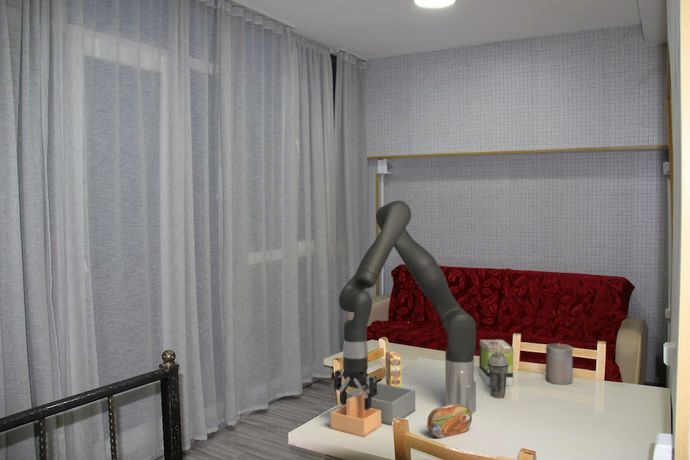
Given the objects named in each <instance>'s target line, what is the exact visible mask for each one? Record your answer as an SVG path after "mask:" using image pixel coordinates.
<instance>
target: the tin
mask: <svg viewBox="0 0 690 460" xmlns="http://www.w3.org/2000/svg"><path fill="white" fill-rule="evenodd" d="M472 418H473V417H472V414H471V411H470V409H469V408H468V407H467V406H465V405H461V404H453V405H449V406H441V407H437V408H434V409H432V410H431V411H430V412H429V414H428V417H427V421H426V422H427V423H426V424H427V425H426V426H427V430H428V431H429V433H430V434H431V435H433V436H434V437H436V438H439V439H444V438H447V437H453V436H456V435H460V434H463V433H466V432H467V431H468V430H469V428H470V427H471V424H472V420H473V419H472Z"/></svg>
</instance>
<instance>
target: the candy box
mask: <svg viewBox="0 0 690 460" xmlns="http://www.w3.org/2000/svg"><path fill="white" fill-rule="evenodd" d="M384 356H385V384H386V385H391V386H396V387H402V358H401V356H400V355H399V354H398V352H396V351H388V352H387V351H386V352H385V355H384Z"/></svg>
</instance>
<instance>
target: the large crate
mask: <svg viewBox="0 0 690 460" xmlns="http://www.w3.org/2000/svg"><path fill="white" fill-rule="evenodd" d="M367 384H368V386H369V383H368V382H367ZM363 387H364V385H363ZM359 393H361V391H360V390H359V388H358V389H356V388H354V389H352V390H350V391H348V392H347V399H349V398H351V397H353V396H355V395H357V394H359ZM345 405H346V404H345ZM370 408H372V409H377V410H381V425H387V426H392V422H393V419H394V418H397V417H399V418H404V419H406V418H407V417H408V416H410V415H411V414H413V413H414V412H416V389H412V388H411V389H410V388H407V387H402V386H401V387H396V386H391V385H386V383H385V384H384V383H380V382H377V395H376V396H374V397H371V407H370ZM392 427H393V426H392Z"/></svg>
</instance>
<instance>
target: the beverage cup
mask: <svg viewBox="0 0 690 460" xmlns="http://www.w3.org/2000/svg"><path fill="white" fill-rule="evenodd" d="M497 340H498V353H494V354H492V355H491V356H490V358H489V360H488V367H489V372H490V384H491V386H490V391H491V392H490V394H491V397H492V398H495V399H504V398H505V397H506V391H507V390H506V389H507V386H506V378H507V371H508V366H509V365H508V360H507V358H506V357H505V356H504V355H503V354H501V353H499V340H500V339H497Z"/></svg>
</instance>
